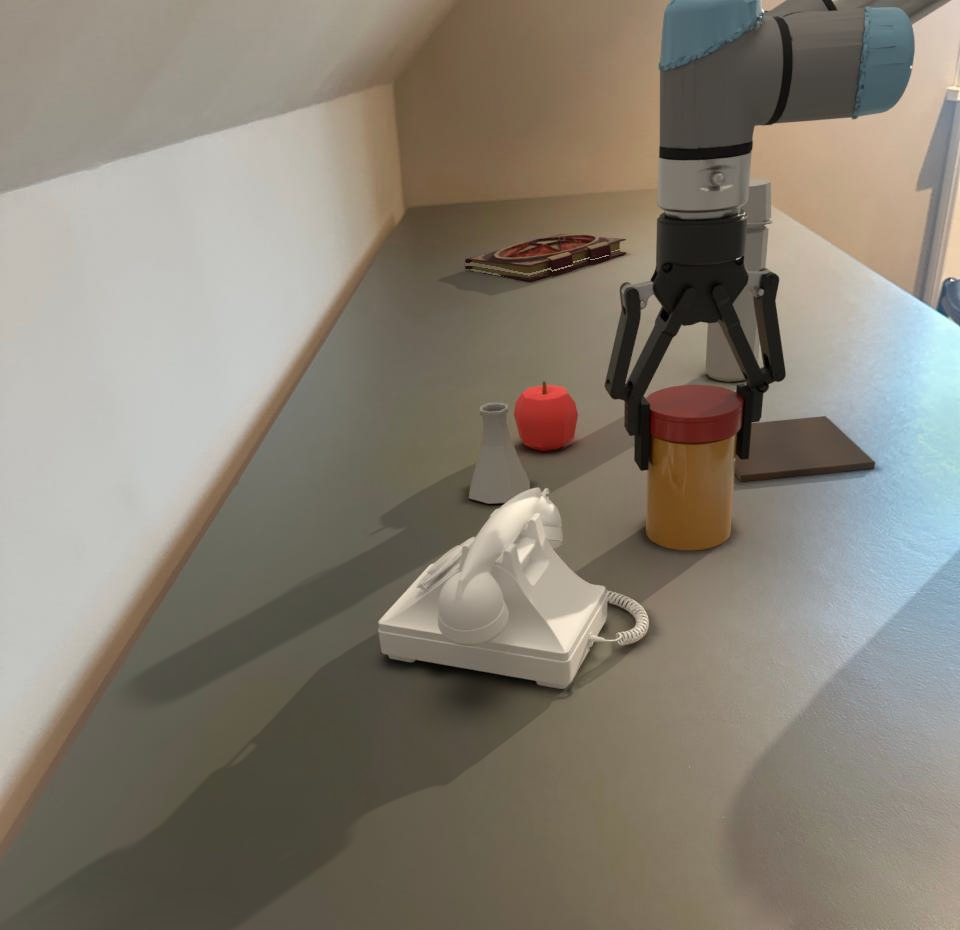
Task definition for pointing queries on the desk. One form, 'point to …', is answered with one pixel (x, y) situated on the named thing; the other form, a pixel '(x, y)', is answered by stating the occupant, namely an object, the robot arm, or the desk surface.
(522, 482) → the flask
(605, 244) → the book
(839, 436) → the pad
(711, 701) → the desk surface
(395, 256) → the desk surface
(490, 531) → the telephone
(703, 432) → the lid
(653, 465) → the jar
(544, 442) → the apple
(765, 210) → the water bottle
